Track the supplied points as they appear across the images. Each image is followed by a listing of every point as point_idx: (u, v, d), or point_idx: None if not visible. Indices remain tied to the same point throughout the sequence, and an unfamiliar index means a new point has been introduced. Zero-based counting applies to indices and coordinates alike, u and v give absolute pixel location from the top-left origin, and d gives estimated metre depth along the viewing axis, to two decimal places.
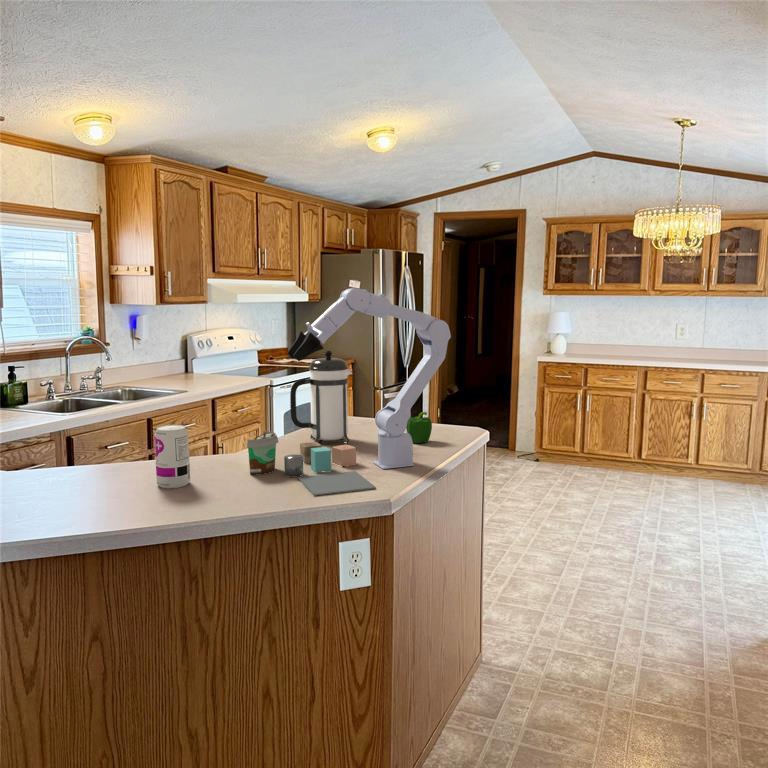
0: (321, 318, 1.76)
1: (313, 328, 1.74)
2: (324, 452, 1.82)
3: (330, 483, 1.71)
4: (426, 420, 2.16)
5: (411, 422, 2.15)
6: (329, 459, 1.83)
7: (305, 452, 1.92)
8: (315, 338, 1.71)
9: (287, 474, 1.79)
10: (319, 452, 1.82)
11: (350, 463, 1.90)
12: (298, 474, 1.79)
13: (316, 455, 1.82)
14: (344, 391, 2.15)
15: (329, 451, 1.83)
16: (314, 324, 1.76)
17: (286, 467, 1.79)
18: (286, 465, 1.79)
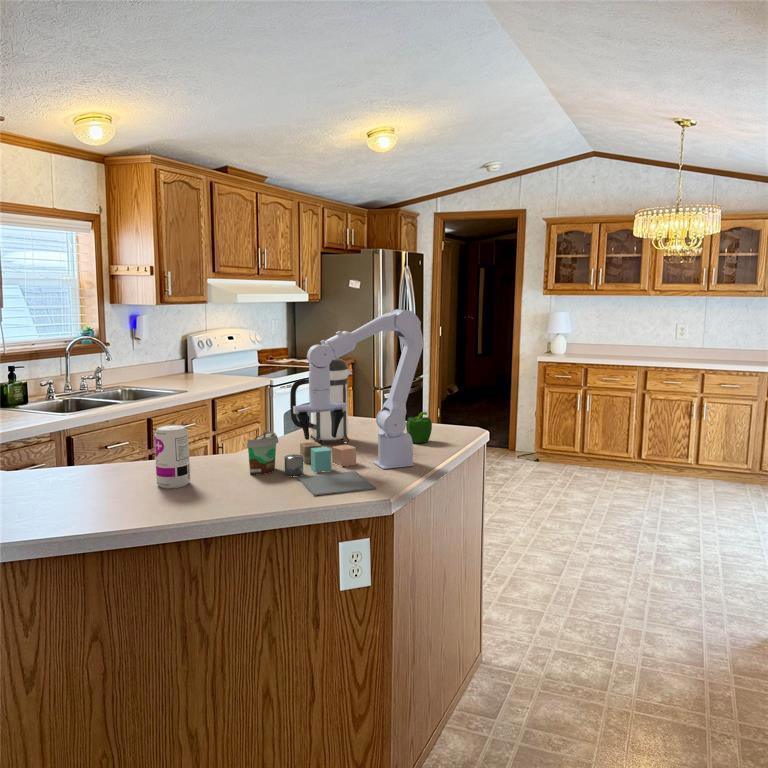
0: None
1: None
2: (324, 452, 1.82)
3: (330, 483, 1.71)
4: (426, 420, 2.16)
5: (411, 422, 2.15)
6: (329, 459, 1.83)
7: (305, 452, 1.92)
8: (297, 414, 1.81)
9: (287, 474, 1.79)
10: (319, 452, 1.82)
11: (350, 463, 1.90)
12: (298, 474, 1.79)
13: (316, 455, 1.82)
14: (344, 391, 2.15)
15: (329, 451, 1.83)
16: None
17: (286, 467, 1.79)
18: (286, 465, 1.79)
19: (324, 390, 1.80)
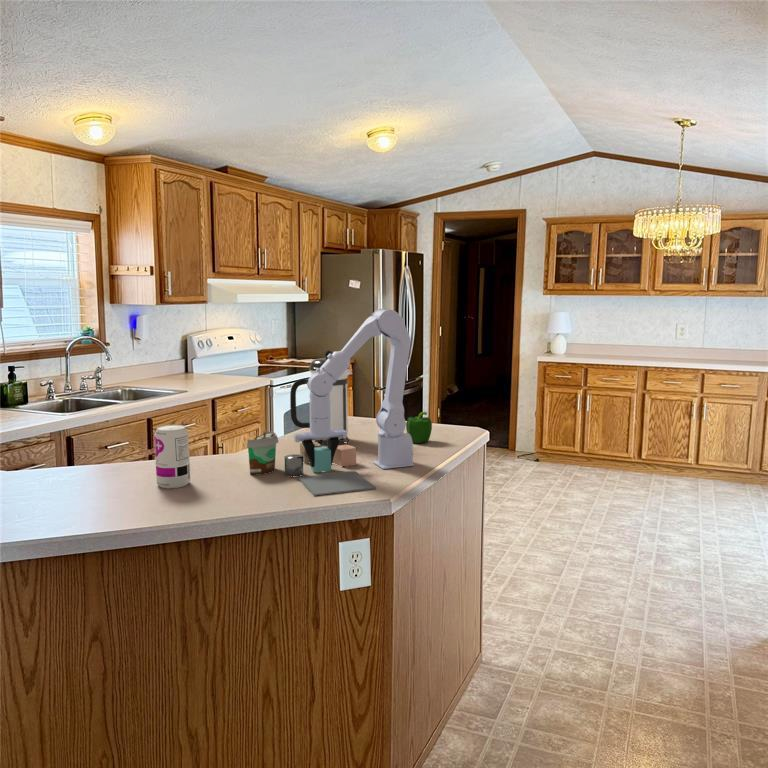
0: None
1: None
2: (324, 452, 1.82)
3: (330, 483, 1.71)
4: (426, 420, 2.16)
5: (411, 422, 2.15)
6: (329, 459, 1.83)
7: (305, 452, 1.92)
8: (302, 441, 1.83)
9: (287, 474, 1.79)
10: (319, 452, 1.82)
11: (350, 463, 1.90)
12: (298, 474, 1.79)
13: (316, 455, 1.82)
14: (344, 391, 2.15)
15: (329, 451, 1.83)
16: None
17: (286, 467, 1.79)
18: (286, 465, 1.79)
19: (324, 418, 1.81)
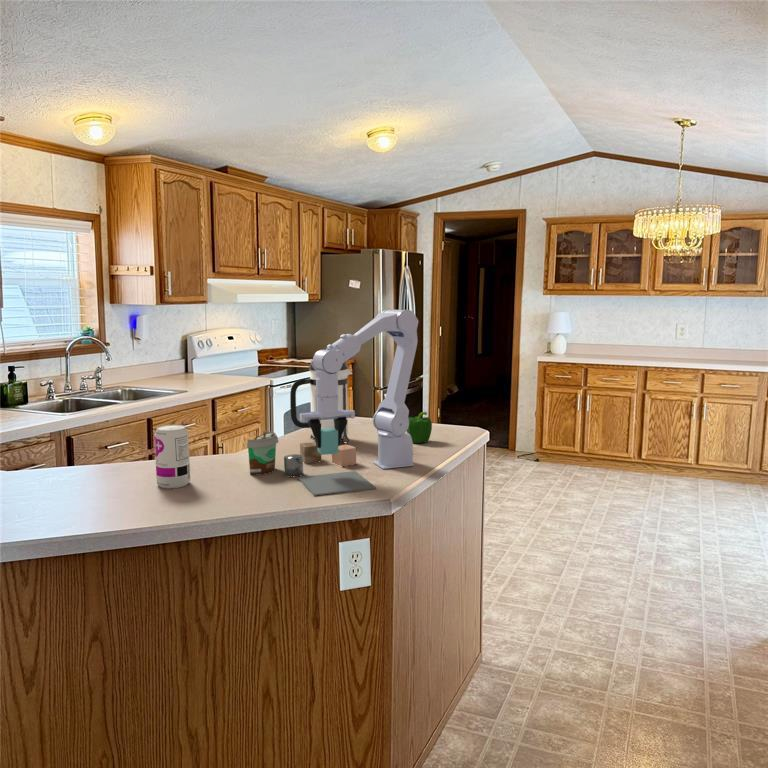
0: None
1: None
2: (331, 433, 1.75)
3: (330, 483, 1.71)
4: (426, 420, 2.16)
5: (411, 422, 2.15)
6: (336, 440, 1.76)
7: (305, 452, 1.92)
8: (308, 421, 1.75)
9: (286, 474, 1.79)
10: (326, 432, 1.74)
11: (350, 463, 1.90)
12: (297, 474, 1.79)
13: (322, 436, 1.74)
14: (344, 391, 2.15)
15: (336, 432, 1.75)
16: None
17: (286, 467, 1.79)
18: (285, 465, 1.79)
19: (332, 397, 1.73)
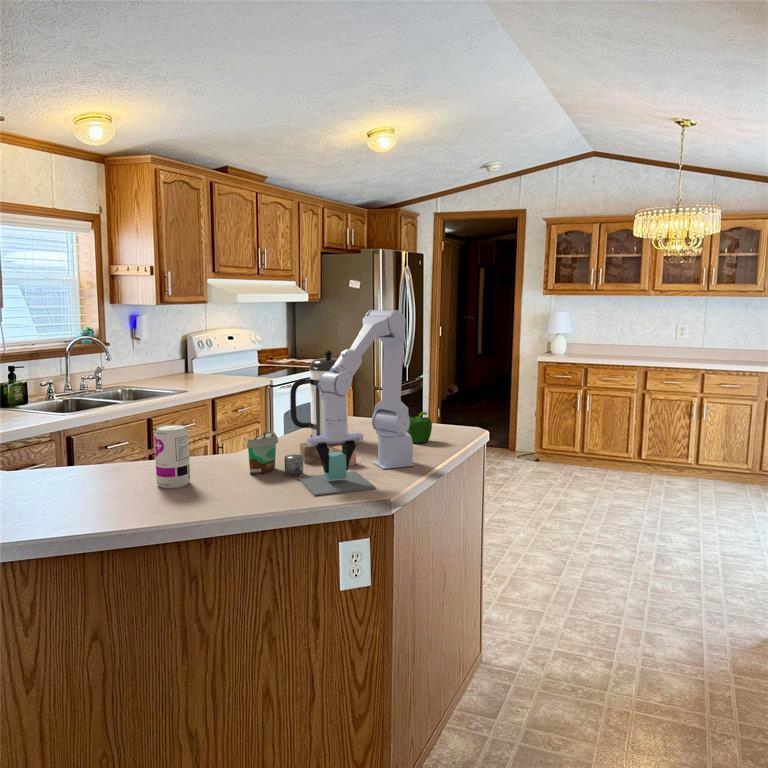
0: None
1: None
2: (339, 457, 1.70)
3: (330, 483, 1.71)
4: (426, 420, 2.16)
5: (411, 422, 2.15)
6: (344, 465, 1.70)
7: (305, 452, 1.92)
8: (316, 445, 1.70)
9: (286, 474, 1.79)
10: (333, 457, 1.69)
11: (350, 463, 1.90)
12: (297, 474, 1.79)
13: (330, 460, 1.69)
14: None
15: (344, 456, 1.70)
16: None
17: (286, 467, 1.79)
18: (286, 465, 1.79)
19: (340, 420, 1.67)
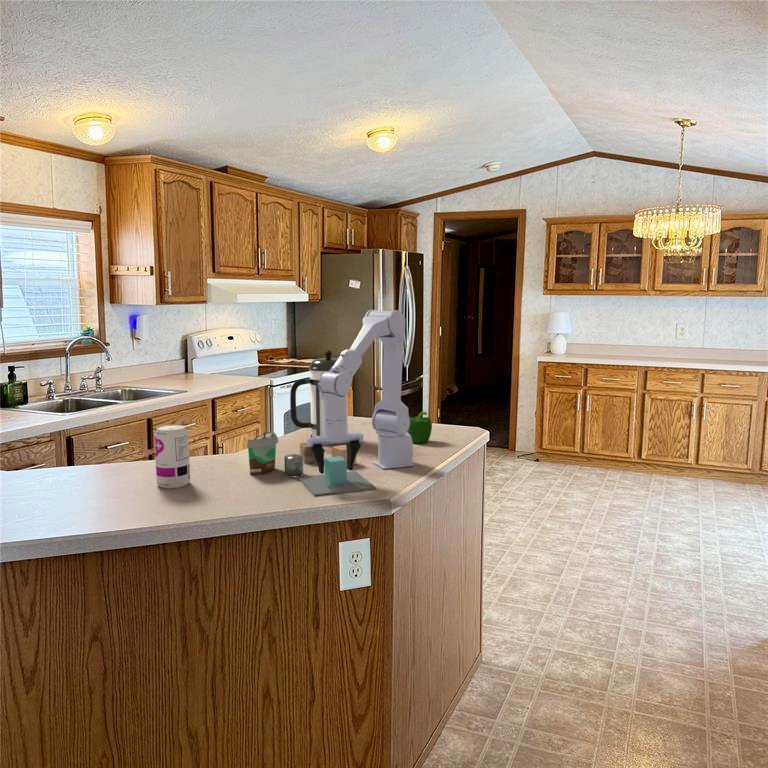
0: None
1: None
2: (339, 462, 1.70)
3: None
4: (426, 420, 2.16)
5: (411, 422, 2.15)
6: (344, 469, 1.71)
7: (305, 452, 1.92)
8: (311, 446, 1.69)
9: (286, 474, 1.79)
10: (334, 462, 1.69)
11: None
12: (297, 474, 1.79)
13: (331, 465, 1.69)
14: None
15: (345, 461, 1.70)
16: None
17: (286, 467, 1.79)
18: (285, 465, 1.79)
19: (340, 420, 1.67)
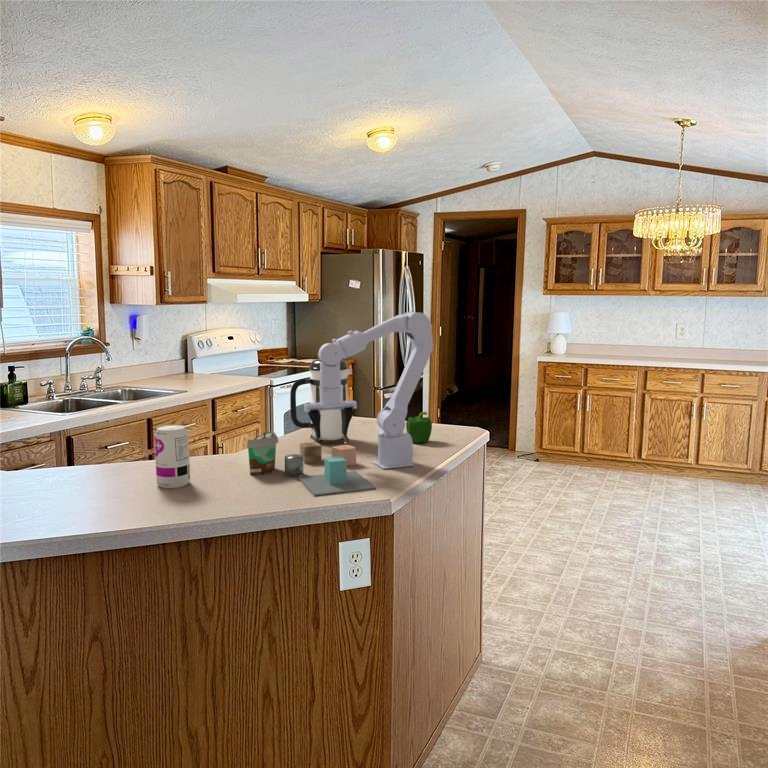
0: None
1: None
2: (339, 462, 1.70)
3: None
4: (426, 420, 2.16)
5: (411, 422, 2.15)
6: (344, 469, 1.71)
7: (305, 452, 1.92)
8: (308, 412, 1.83)
9: (286, 473, 1.79)
10: (334, 462, 1.69)
11: (350, 463, 1.90)
12: (297, 474, 1.79)
13: (331, 465, 1.69)
14: (344, 391, 2.15)
15: (345, 461, 1.70)
16: None
17: (285, 467, 1.79)
18: (285, 464, 1.79)
19: (335, 388, 1.81)
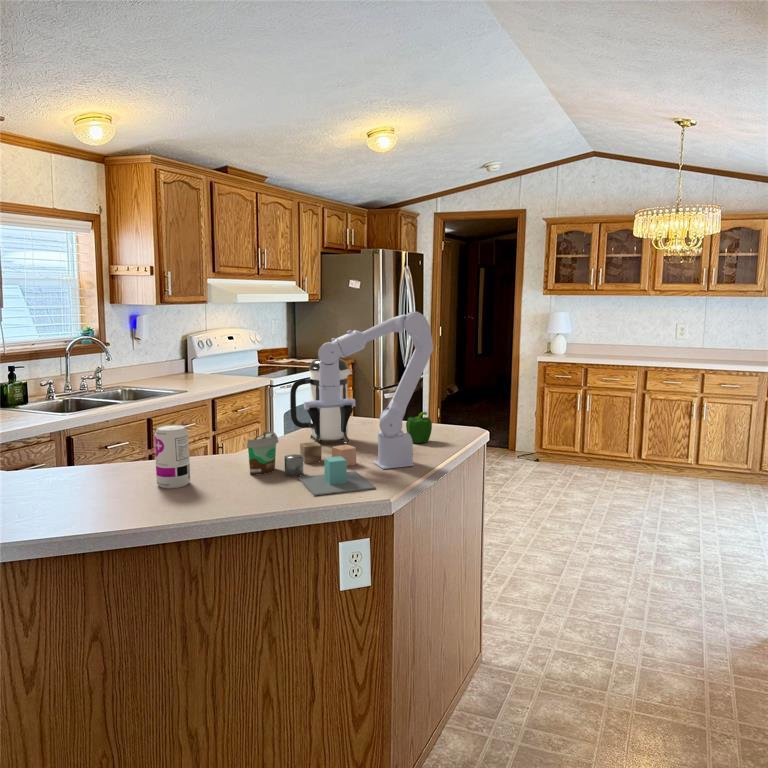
0: None
1: None
2: (339, 462, 1.70)
3: None
4: (426, 420, 2.16)
5: (411, 422, 2.15)
6: (344, 469, 1.71)
7: (305, 452, 1.92)
8: (308, 409, 1.86)
9: (286, 473, 1.79)
10: (334, 462, 1.69)
11: (350, 463, 1.90)
12: (296, 474, 1.79)
13: (331, 465, 1.69)
14: (344, 391, 2.15)
15: (345, 461, 1.70)
16: None
17: (285, 467, 1.79)
18: (285, 464, 1.79)
19: (334, 386, 1.85)
